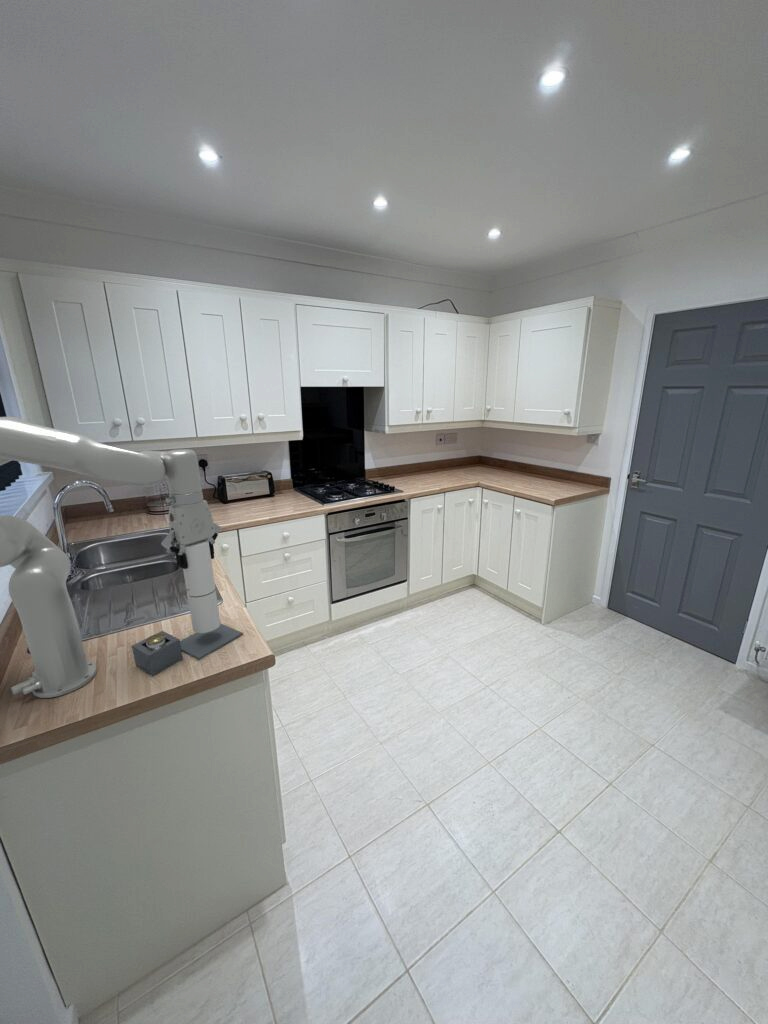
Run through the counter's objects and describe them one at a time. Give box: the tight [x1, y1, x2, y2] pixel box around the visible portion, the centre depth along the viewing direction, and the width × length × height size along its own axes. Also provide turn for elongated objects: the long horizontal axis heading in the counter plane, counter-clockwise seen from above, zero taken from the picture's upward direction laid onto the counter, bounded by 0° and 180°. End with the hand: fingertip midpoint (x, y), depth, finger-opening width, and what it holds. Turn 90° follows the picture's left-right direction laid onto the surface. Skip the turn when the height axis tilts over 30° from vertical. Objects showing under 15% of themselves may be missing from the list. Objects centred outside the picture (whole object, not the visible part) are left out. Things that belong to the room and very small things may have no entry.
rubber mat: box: [180, 623, 244, 661], centre depth 114 cm, size 14×12×1 cm
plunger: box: [145, 633, 166, 650], centre depth 104 cm, size 4×4×6 cm
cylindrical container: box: [182, 539, 222, 633], centre depth 110 cm, size 7×7×25 cm
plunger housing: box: [131, 630, 184, 677], centre depth 104 cm, size 8×8×6 cm
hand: (197, 562), depth 108 cm, fingers closed on cylindrical container, 7 cm apart
